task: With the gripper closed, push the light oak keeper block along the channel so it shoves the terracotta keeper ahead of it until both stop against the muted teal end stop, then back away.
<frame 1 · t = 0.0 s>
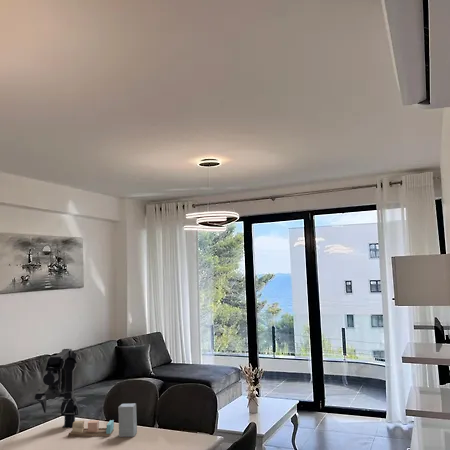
hand: (54, 412, 236), 15 cm above the table, tool pointing down, fingers open, 9 cm apart
channel: (91, 433, 248), on the table
skincare box: (127, 435, 245), on the table
teal end stop: (110, 433, 249), resting on channel
terracotta keeper: (93, 426, 249), point 4 cm above the table, slide at 0.0 cm
oak keeper: (78, 426, 248), point 4 cm above the table, slide at 0.0 cm
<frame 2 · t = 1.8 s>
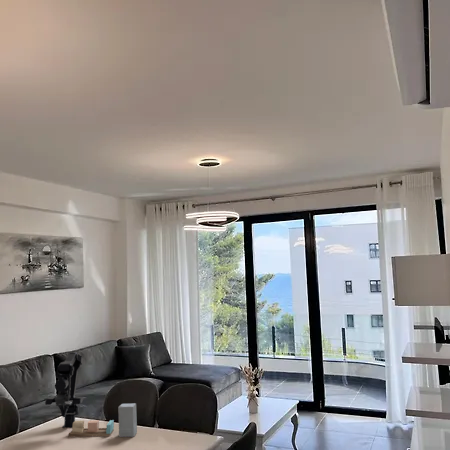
hand: (63, 417, 249), 9 cm above the table, tool pointing down, fingers closed
nothing on the table moved.
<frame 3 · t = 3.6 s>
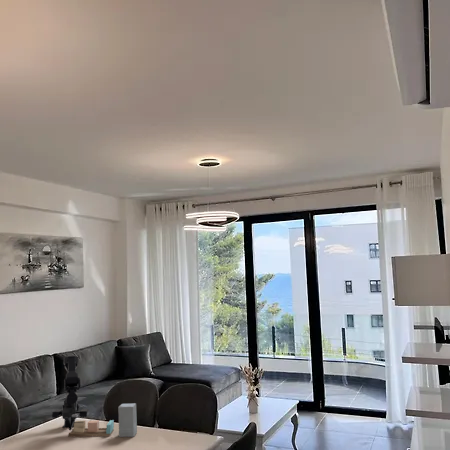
hand: (70, 429, 248), 2 cm above the table, tool pointing down, fingers closed
oak keeper: (79, 426, 248), point 4 cm above the table, slide at 0.7 cm, touching gripper
everything else where it was.
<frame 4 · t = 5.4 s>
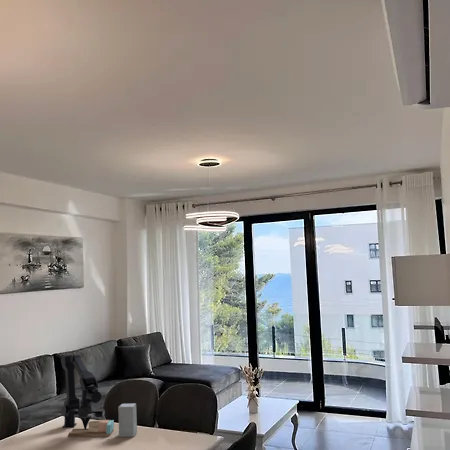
hand: (85, 429, 248), 2 cm above the table, tool pointing down, fingers closed
terracotta keeper: (103, 426, 249), point 4 cm above the table, slide at 5.5 cm, touching oak keeper, teal end stop
oak keeper: (94, 426, 249), point 4 cm above the table, slide at 8.5 cm, touching gripper, terracotta keeper
everything else where it was.
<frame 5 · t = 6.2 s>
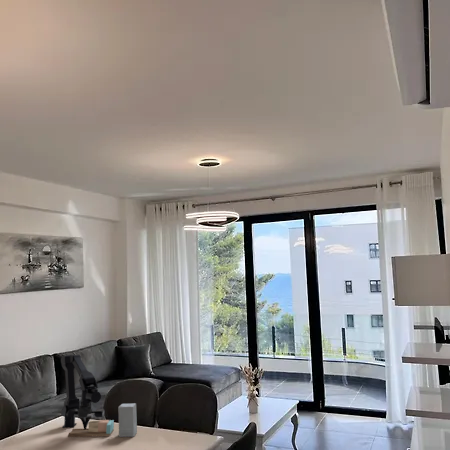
hand: (85, 429, 248), 2 cm above the table, tool pointing down, fingers closed
nothing on the table moved.
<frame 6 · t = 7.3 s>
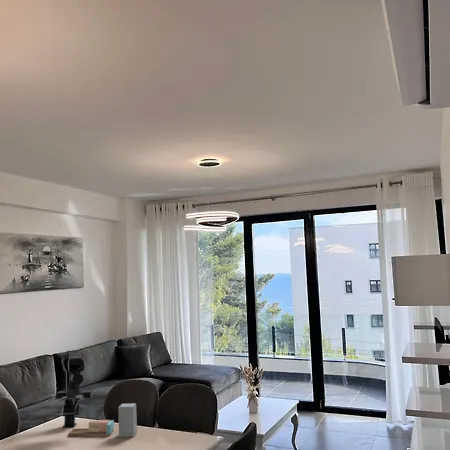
hand: (73, 410, 250), 12 cm above the table, tool pointing down, fingers closed
terracotta keeper: (103, 426, 249), point 4 cm above the table, slide at 5.5 cm, touching teal end stop
oak keeper: (94, 426, 249), point 4 cm above the table, slide at 8.5 cm
everything else where it was.
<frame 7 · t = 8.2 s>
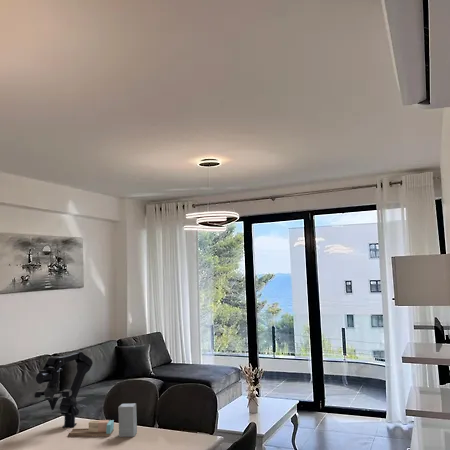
hand: (52, 409, 252), 12 cm above the table, tool pointing down, fingers closed
nothing on the table moved.
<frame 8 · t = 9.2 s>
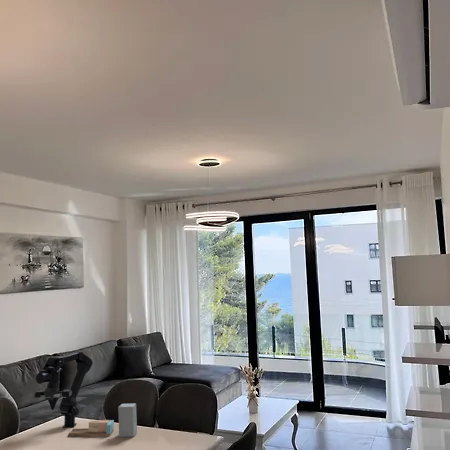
hand: (52, 409, 252), 12 cm above the table, tool pointing down, fingers closed
nothing on the table moved.
at the end: terracotta keeper slide at 5.5 cm; oak keeper slide at 8.5 cm; oak keeper 5.0 cm from the terracotta keeper (horizontally) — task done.
